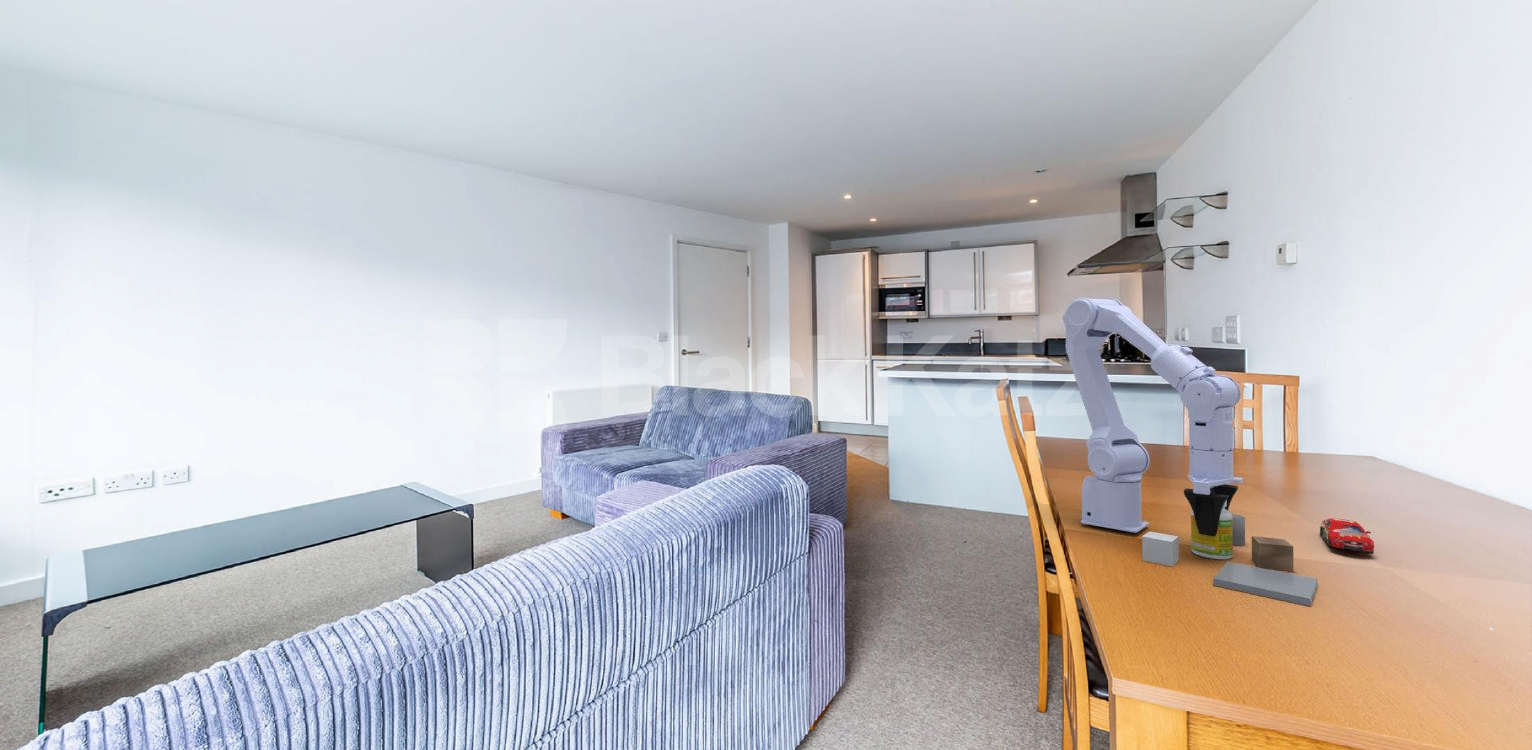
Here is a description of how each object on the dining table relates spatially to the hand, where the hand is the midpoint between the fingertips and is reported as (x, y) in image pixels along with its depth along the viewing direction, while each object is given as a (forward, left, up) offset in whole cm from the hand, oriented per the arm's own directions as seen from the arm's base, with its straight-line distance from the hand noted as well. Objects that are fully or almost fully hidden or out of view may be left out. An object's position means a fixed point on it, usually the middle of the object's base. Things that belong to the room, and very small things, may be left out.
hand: (1211, 531), depth 94 cm
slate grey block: (+1, +9, -4) cm, 10 cm away
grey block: (-5, -9, -4) cm, 11 cm away
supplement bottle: (0, 0, -4) cm, 4 cm away
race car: (+16, +17, -6) cm, 24 cm away
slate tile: (+8, -11, -4) cm, 14 cm away
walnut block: (+7, 0, -4) cm, 8 cm away
